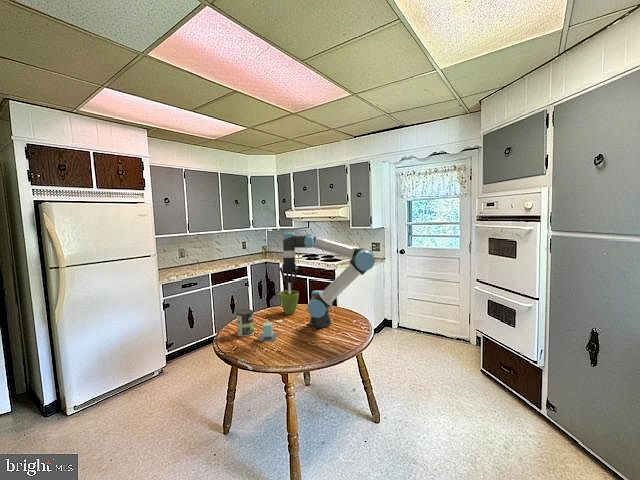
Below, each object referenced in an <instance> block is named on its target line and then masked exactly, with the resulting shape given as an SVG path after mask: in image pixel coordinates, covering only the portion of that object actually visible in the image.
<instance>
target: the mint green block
mask: <svg viewBox="0 0 640 480" xmlns="http://www.w3.org/2000/svg"><path fill="white" fill-rule="evenodd" d="M273 327H274V326H273V322H264V323H263V325H262V333H263V337H270V336H272V334H273V333H274V331H273V330H274V329H273Z"/></svg>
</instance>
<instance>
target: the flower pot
mask: <svg viewBox="0 0 640 480" xmlns="http://www.w3.org/2000/svg"><path fill="white" fill-rule="evenodd" d="M278 295H279V299H280V304H281V306H282V309H283V312H284V314H285V315H294V314H295V312H296V309H297V306H298V302H299V296H300V292H299V291H298V290H295V289H293V290H292V289H291V294H288V289H287V290H282V291H280V292H279V293H278Z"/></svg>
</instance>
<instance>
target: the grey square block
mask: <svg viewBox="0 0 640 480" xmlns="http://www.w3.org/2000/svg"><path fill="white" fill-rule="evenodd" d="M277 336H278V333H277V332H273V334H272V336H270V337H263V332H261V333H260V334H259V338H258V341H257V342H275V341H276V340H277Z"/></svg>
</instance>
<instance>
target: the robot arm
mask: <svg viewBox="0 0 640 480" xmlns="http://www.w3.org/2000/svg"><path fill="white" fill-rule="evenodd" d="M296 248H298V249H299V248H301V249H302V248H303V249H306V248H307V249H311V248H313V249H317V250H321V251H323V252H327V253H330V254H334V255H337V256H341V257H344V258H347V259H350V260H349V263H348V266H347V267H346V268H345V269H344V270H343V271H342V272H340V274H339V275H337V277H336V278H335V279H334V280H333V281H332V282H331V283H330V284H329V285H328V286H327V287H326V288H325V289H323V290H317V289H316V290H313V291H311V298H310V300H309V302H308V303H307V307H306V310H307V312H308V314H309V315H310V316H309V317H310V318H309V321H308V323H309V326H310V327H313V328H318V329H319V328H320V329H324V327H325V328H328V326H329V327H331V326H332V324H331V323H332V317H331V316H330V308H331V307H332V306H333V302H334V301H335V300H336V299H337V297H338V296H340V295H341V294H342V293H343V291H345V290H346V289H347V288H348V287H349V286H350V285H351V284H352V283H353V282H354V281H355V280H356V279H357V278H358V277H359V276H363V275H364V274H366V272H368V271H370V270H371V269H373V267H374V266H375V264H376V258H375V255H374V253H373V252H372V250H370V249H368V248H366V247H365V248H364V247H359V246H349V245H347V244H343V243H339V242H336V241H332V240H329V239H325V238H323V237H319V236H315V235H312V234H311V233H307V234H305V235H295V232H283V234H282V256H283V257H282V261H283V262H282V263H283V264H282V266H281V267H279V268H278V270H279V271H280V274H281V277H282V281H283V283H284V284H286V289H287V290H288V294H291V290H292V289H293V284H294V283H296V280H297V276H298V272H299V270H300V267H299V266H297V264H296V257H295V256H296ZM294 270H295V273H294V277H293V271H294ZM284 271H285V273H286V276H285V273H284ZM289 272H290V273H289ZM289 274H290V275H289ZM289 276H290V282H289Z"/></svg>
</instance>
